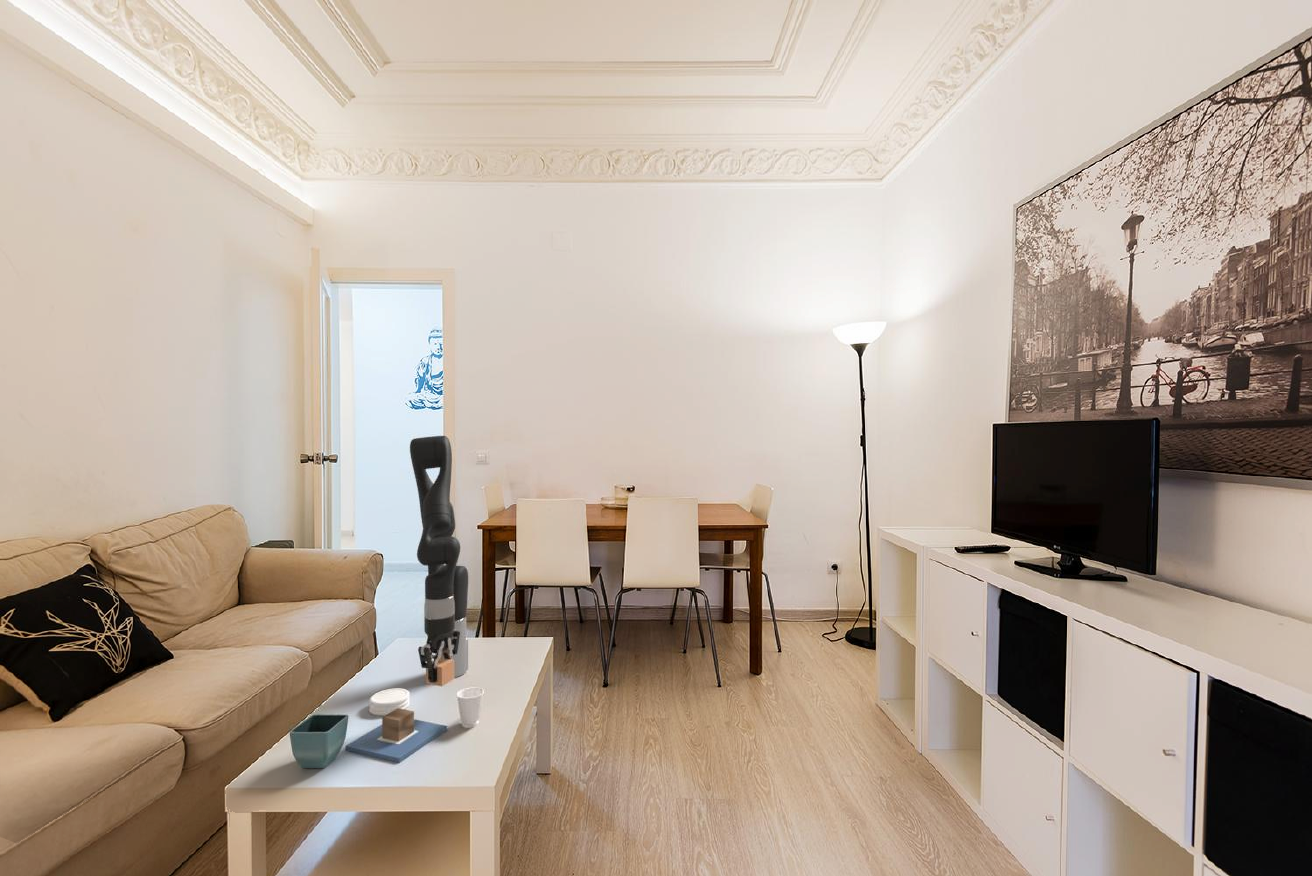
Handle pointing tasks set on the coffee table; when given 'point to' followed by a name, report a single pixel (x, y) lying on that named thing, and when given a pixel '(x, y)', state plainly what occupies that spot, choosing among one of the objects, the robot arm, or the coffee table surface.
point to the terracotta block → (443, 672)
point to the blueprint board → (396, 742)
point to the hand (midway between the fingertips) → (440, 677)
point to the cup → (470, 706)
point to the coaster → (389, 701)
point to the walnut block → (397, 724)
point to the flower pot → (318, 739)
